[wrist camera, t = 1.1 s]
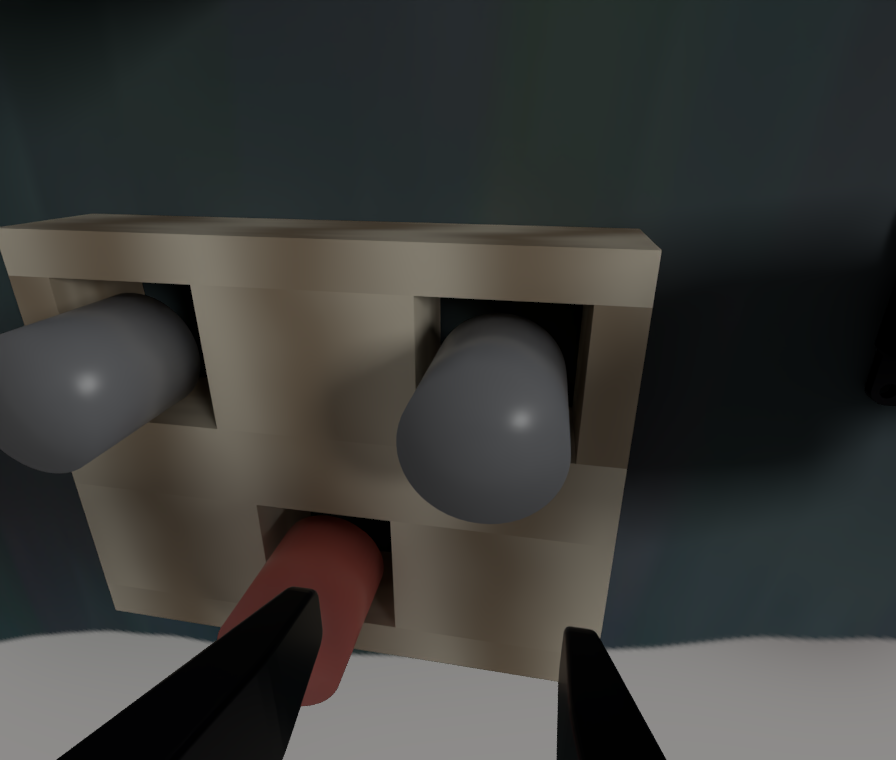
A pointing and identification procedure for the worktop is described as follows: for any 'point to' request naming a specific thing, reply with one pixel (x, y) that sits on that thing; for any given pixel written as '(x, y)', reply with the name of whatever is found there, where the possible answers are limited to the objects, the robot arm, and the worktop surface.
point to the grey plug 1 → (91, 379)
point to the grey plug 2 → (489, 422)
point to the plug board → (349, 416)
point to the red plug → (321, 590)
